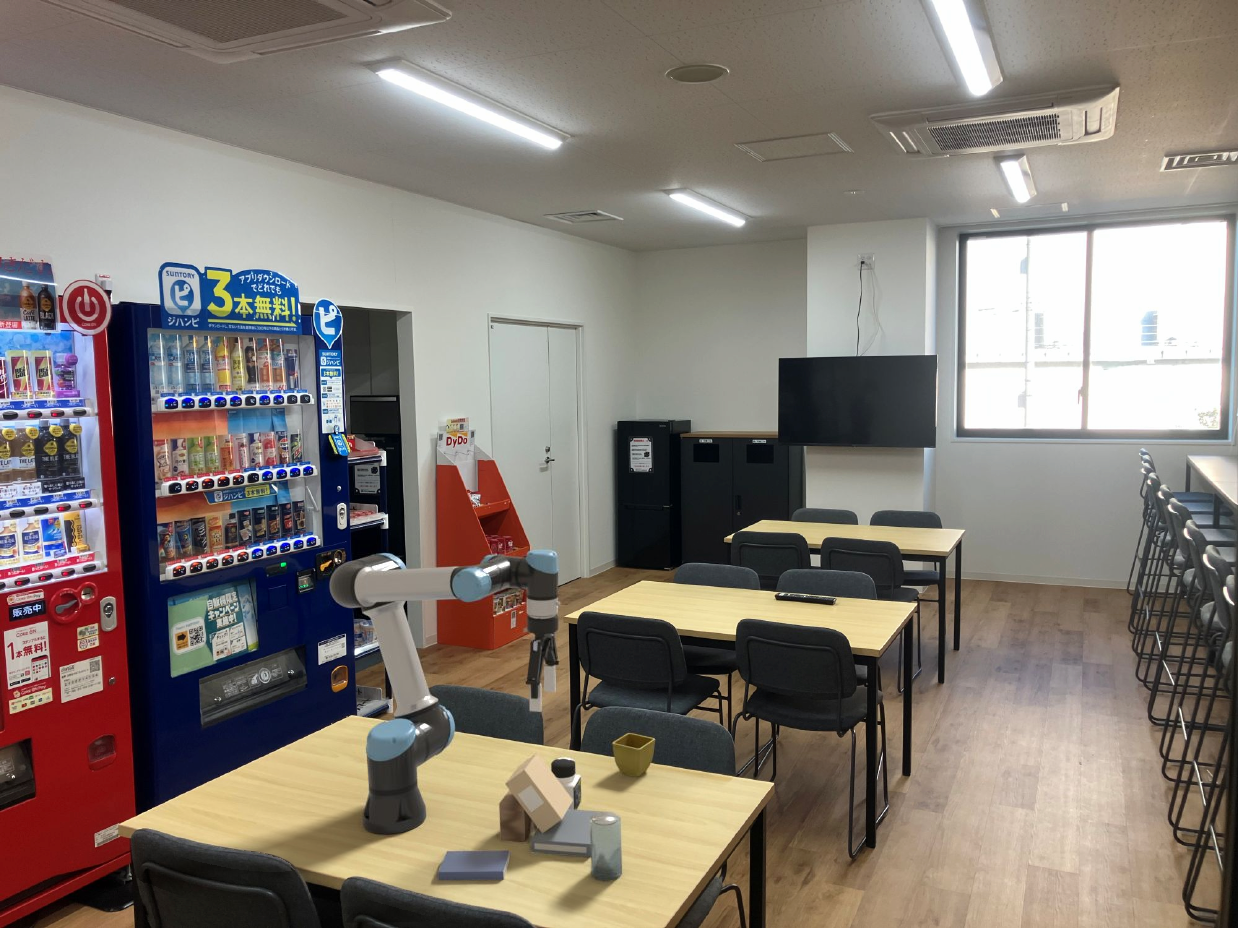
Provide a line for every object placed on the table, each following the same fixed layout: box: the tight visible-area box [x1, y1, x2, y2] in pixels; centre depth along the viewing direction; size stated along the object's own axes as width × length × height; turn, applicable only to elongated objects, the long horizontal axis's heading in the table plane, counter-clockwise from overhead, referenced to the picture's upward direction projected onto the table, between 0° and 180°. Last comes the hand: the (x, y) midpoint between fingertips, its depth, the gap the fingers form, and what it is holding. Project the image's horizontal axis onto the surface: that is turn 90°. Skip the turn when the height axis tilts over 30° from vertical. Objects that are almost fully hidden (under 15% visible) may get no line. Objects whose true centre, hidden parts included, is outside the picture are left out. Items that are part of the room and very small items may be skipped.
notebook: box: [437, 849, 511, 881], centre depth 201 cm, size 14×9×2 cm, turn 88°
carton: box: [504, 752, 573, 833], centre depth 215 cm, size 6×10×14 cm
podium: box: [529, 809, 603, 858], centre depth 214 cm, size 14×16×3 cm
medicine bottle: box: [550, 757, 582, 810], centre depth 230 cm, size 7×7×12 cm
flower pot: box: [611, 732, 656, 778], centre depth 249 cm, size 9×9×9 cm
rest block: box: [498, 789, 537, 844], centre depth 216 cm, size 6×8×9 cm
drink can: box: [590, 811, 623, 882], centre depth 197 cm, size 7×7×12 cm
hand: (542, 700), depth 222 cm, fingers open, 13 cm apart
